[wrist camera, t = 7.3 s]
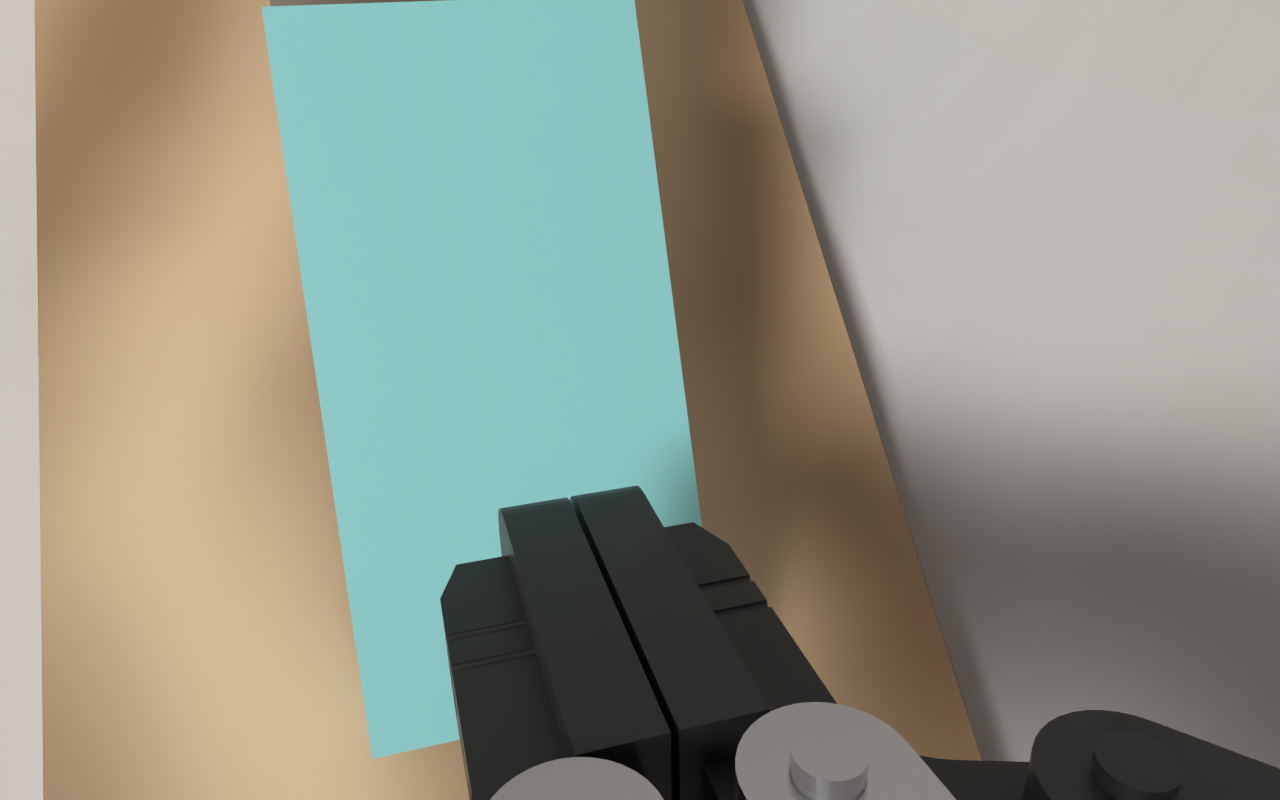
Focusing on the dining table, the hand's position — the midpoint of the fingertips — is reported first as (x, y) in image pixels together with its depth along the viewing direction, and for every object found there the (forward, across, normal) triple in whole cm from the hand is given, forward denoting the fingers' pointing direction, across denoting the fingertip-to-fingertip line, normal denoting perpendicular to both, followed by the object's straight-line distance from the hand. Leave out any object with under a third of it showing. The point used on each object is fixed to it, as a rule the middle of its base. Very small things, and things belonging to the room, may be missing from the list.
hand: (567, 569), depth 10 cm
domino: (+2, 0, +4) cm, 5 cm away
